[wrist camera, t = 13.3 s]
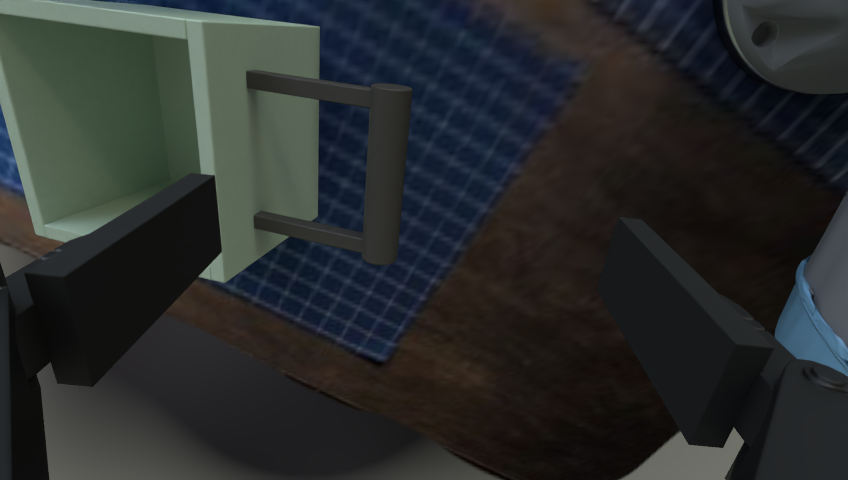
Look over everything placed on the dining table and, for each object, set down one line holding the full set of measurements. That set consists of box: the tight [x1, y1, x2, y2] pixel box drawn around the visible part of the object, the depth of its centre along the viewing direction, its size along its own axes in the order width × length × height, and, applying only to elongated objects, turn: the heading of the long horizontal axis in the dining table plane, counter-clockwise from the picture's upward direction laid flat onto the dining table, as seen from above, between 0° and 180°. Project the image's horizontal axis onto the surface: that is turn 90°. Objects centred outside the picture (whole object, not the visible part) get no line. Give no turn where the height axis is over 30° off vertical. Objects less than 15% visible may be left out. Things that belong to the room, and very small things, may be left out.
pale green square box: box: [0, 0, 412, 283], centre depth 26 cm, size 20×12×10 cm, turn 84°
